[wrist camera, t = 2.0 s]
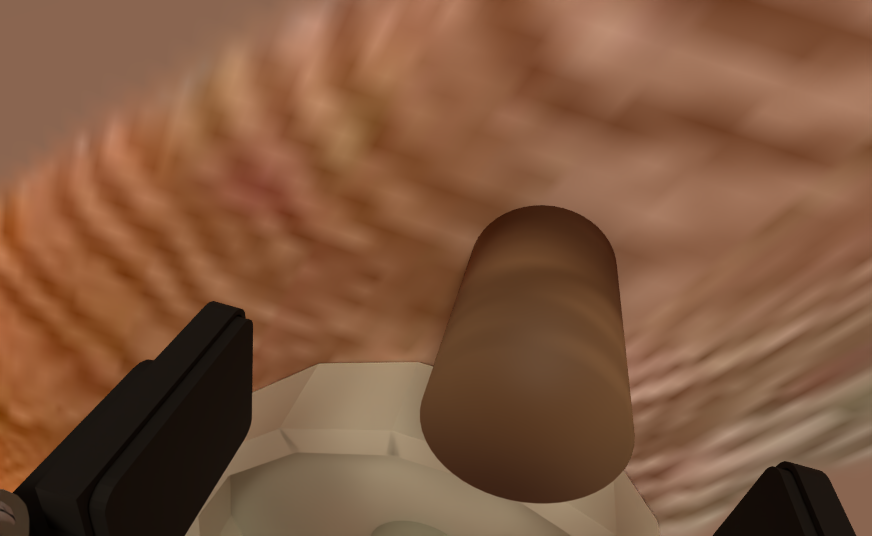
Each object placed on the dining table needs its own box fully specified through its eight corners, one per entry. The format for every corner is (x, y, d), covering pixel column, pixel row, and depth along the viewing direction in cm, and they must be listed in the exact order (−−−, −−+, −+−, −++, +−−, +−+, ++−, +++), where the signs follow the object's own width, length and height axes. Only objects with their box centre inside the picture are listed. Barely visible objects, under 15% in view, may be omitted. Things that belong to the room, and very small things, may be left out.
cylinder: (640, 228, 14) (671, 388, 9) (588, 345, 17) (591, 526, 12) (489, 188, 15) (441, 321, 10) (457, 307, 17) (404, 467, 12)
